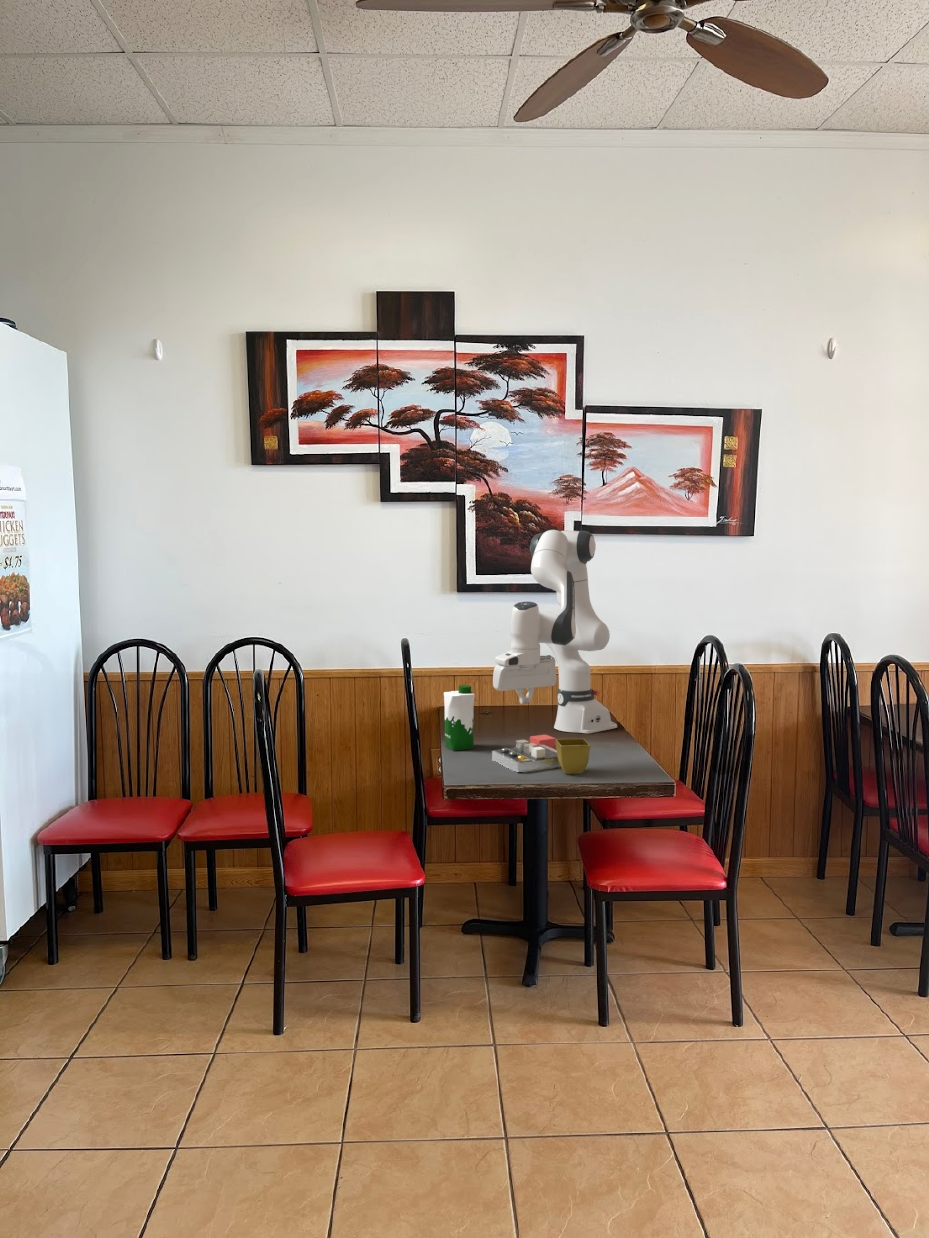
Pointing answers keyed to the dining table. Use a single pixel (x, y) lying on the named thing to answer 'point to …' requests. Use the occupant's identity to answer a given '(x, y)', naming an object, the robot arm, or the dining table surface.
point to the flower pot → (573, 755)
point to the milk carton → (459, 719)
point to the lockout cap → (544, 740)
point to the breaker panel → (525, 757)
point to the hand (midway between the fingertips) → (525, 702)
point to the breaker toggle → (538, 752)
